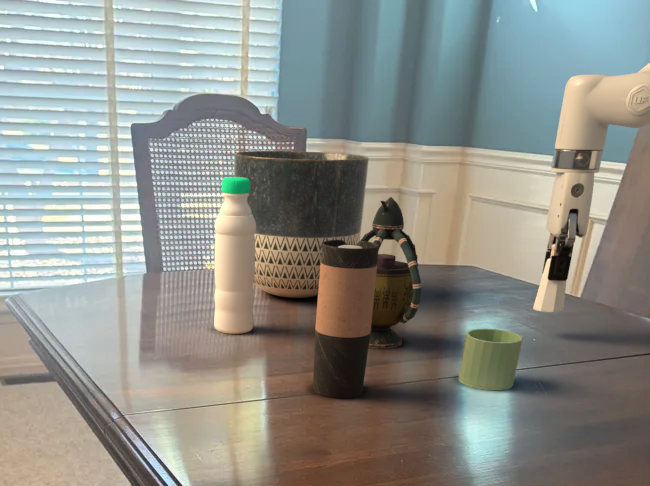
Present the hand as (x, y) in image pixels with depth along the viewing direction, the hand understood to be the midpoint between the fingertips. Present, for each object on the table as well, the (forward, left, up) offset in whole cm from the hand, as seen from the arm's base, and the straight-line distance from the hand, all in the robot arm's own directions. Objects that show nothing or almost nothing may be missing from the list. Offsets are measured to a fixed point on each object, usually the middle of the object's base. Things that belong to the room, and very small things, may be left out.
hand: (554, 276), depth 135 cm
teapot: (+31, +7, -11) cm, 33 cm away
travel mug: (+36, +39, -11) cm, 54 cm away
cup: (+14, +30, -10) cm, 34 cm away
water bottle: (+56, +9, -11) cm, 57 cm away
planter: (+48, -23, -11) cm, 54 cm away
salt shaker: (0, 0, -6) cm, 6 cm away
